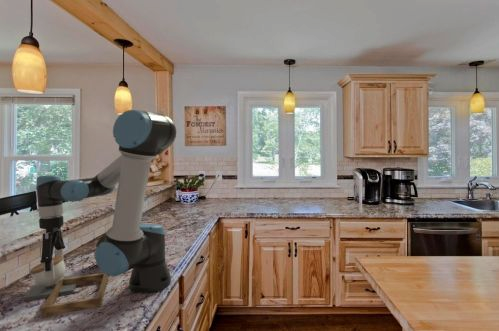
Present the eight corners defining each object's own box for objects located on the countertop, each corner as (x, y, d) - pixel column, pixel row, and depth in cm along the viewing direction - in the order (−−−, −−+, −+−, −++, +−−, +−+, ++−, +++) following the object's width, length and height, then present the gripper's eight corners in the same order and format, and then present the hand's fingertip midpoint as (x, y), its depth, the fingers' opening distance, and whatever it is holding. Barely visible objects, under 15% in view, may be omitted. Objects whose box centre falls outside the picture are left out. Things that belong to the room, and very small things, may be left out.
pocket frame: (108, 279, 117) (107, 272, 117) (100, 306, 96) (100, 297, 96) (60, 286, 111) (60, 279, 111) (41, 317, 90) (41, 308, 90)
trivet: (81, 276, 120) (81, 274, 120) (73, 293, 106) (73, 289, 106) (37, 283, 115) (37, 280, 115) (23, 301, 101) (23, 297, 101)
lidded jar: (75, 270, 116) (66, 249, 114) (59, 284, 105) (48, 261, 104) (49, 279, 116) (40, 257, 114) (31, 294, 105) (20, 271, 104)
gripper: (49, 211, 119) (52, 262, 120) (26, 224, 96) (31, 287, 97) (70, 209, 122) (73, 259, 123) (53, 222, 99) (57, 283, 99)
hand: (54, 272), depth 110 cm, fingers open, 13 cm apart
